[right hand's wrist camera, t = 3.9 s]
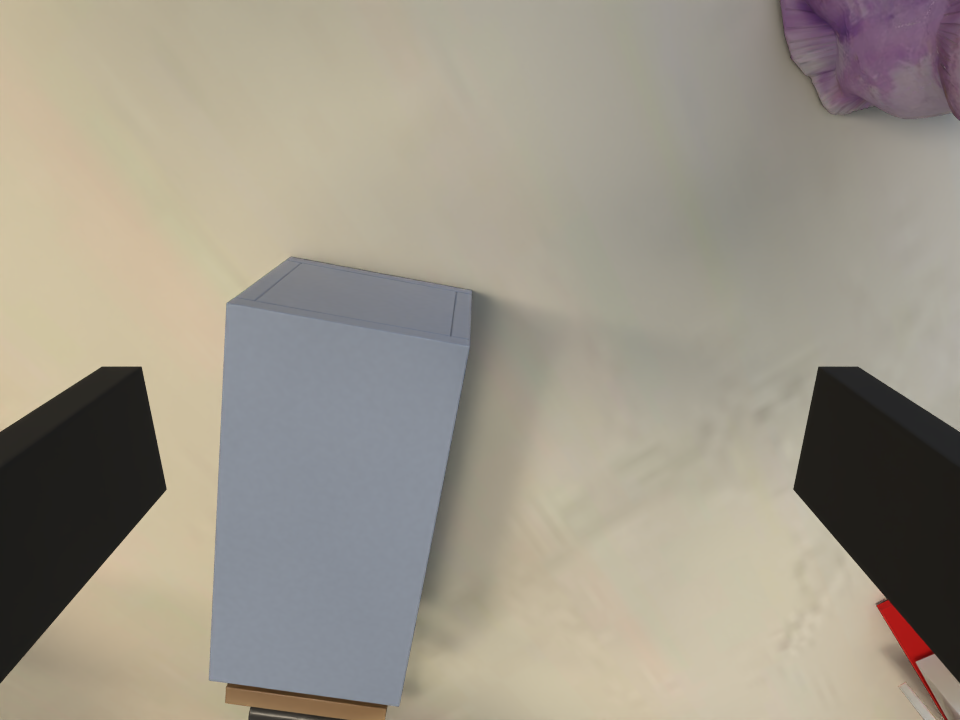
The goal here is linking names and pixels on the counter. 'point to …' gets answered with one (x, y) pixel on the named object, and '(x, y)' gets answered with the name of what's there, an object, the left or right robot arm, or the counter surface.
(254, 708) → the drawer
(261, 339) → the cabinet
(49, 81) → the counter surface
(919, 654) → the toy
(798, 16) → the figurine
